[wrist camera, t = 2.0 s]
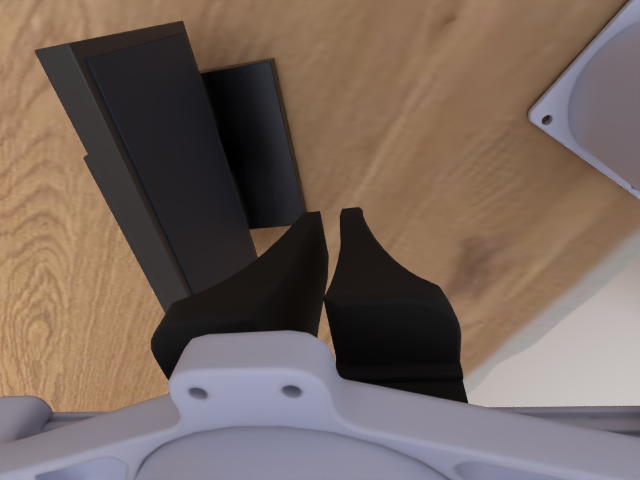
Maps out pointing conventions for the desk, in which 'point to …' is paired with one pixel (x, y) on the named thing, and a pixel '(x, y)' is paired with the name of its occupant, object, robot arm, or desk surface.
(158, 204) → the screen
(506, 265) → the desk surface
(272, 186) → the monitor stand
